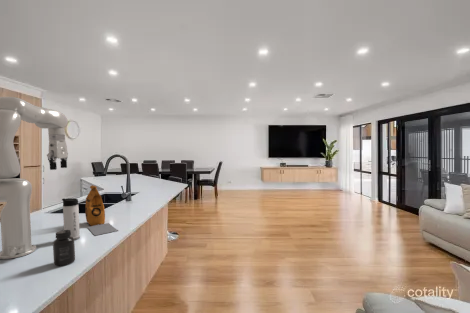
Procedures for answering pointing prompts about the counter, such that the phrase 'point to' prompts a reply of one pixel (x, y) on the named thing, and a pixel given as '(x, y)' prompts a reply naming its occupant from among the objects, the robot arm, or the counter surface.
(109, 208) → the counter surface
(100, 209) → the coffee package
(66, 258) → the supplement bottle
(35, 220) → the counter surface
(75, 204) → the travel mug
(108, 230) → the mat
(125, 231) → the counter surface
